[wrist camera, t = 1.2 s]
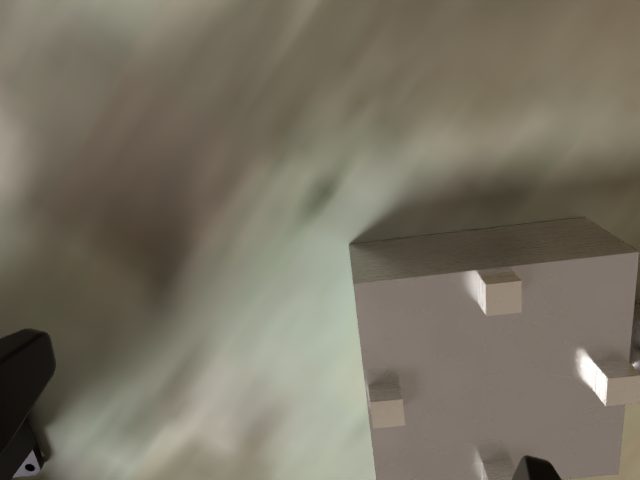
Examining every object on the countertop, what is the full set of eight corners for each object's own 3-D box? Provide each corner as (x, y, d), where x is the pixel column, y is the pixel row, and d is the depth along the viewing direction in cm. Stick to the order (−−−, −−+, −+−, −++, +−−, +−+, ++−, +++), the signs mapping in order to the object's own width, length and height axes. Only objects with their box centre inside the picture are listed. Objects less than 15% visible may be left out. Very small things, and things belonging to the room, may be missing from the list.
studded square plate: (370, 430, 26) (380, 515, 21) (348, 244, 22) (355, 296, 17) (637, 404, 25) (710, 487, 20) (657, 208, 21) (750, 252, 17)
